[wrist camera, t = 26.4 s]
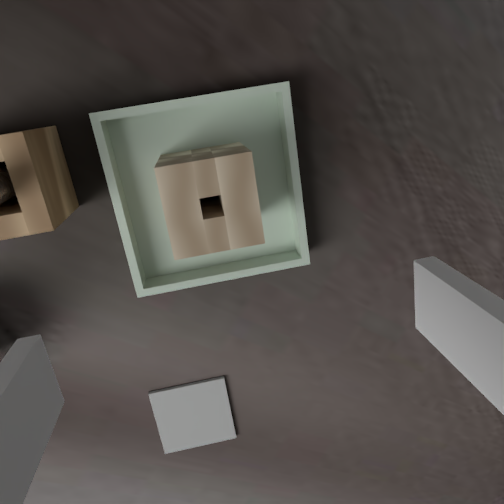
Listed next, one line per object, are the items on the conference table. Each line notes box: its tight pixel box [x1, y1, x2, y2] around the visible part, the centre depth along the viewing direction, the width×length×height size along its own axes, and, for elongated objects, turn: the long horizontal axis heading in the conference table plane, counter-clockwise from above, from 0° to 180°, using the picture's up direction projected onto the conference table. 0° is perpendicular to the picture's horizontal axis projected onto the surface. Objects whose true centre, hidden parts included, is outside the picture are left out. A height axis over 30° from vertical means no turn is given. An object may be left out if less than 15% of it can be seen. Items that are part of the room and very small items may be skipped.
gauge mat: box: [149, 376, 236, 454], centre depth 48 cm, size 8×8×1 cm
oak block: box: [0, 126, 79, 240], centre depth 34 cm, size 7×7×8 cm
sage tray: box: [89, 81, 310, 298], centre depth 39 cm, size 16×16×3 cm
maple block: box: [154, 142, 265, 260], centre depth 36 cm, size 7×7×8 cm
